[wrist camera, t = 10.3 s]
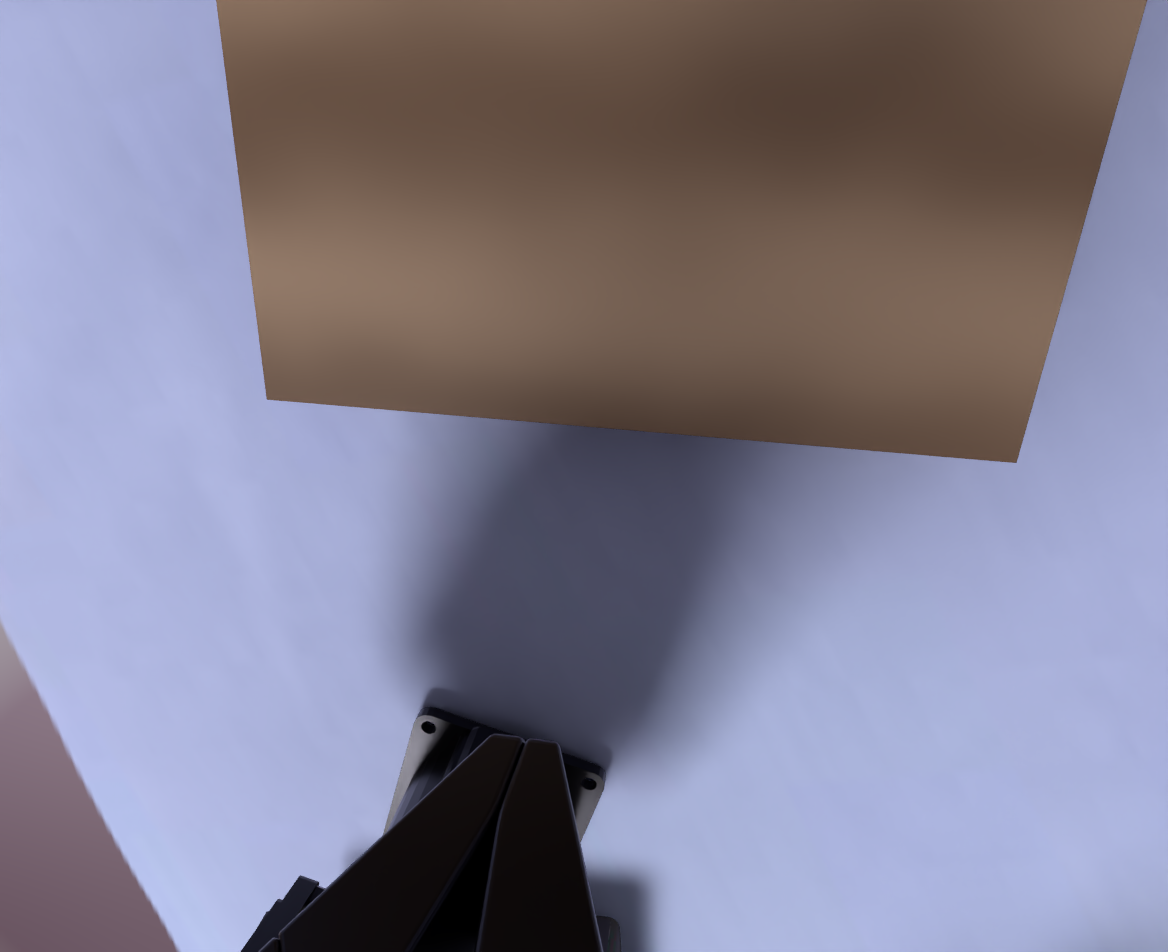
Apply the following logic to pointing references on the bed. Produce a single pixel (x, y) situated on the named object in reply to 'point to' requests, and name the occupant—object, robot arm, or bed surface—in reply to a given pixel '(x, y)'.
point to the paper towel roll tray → (673, 208)
